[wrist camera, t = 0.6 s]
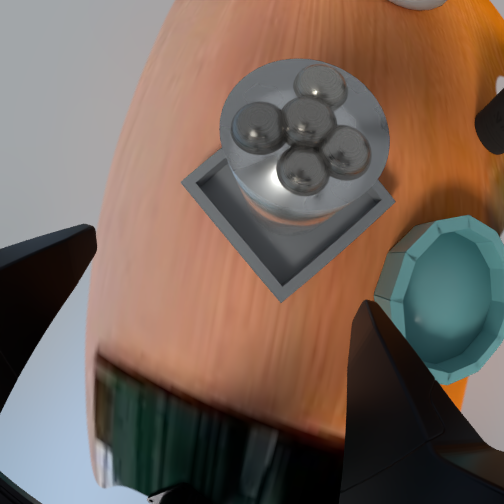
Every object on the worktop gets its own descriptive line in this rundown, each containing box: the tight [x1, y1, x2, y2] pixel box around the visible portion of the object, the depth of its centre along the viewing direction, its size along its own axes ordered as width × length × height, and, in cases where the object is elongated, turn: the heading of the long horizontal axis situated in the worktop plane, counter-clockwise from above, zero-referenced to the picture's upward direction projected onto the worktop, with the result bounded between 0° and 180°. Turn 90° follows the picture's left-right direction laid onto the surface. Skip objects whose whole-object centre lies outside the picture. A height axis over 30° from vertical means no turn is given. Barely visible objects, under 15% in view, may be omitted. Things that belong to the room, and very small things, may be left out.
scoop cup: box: [219, 59, 390, 236], centre depth 16 cm, size 6×6×13 cm
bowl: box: [374, 215, 504, 385], centre depth 20 cm, size 13×13×4 cm
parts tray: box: [181, 148, 396, 303], centre depth 22 cm, size 11×11×2 cm
